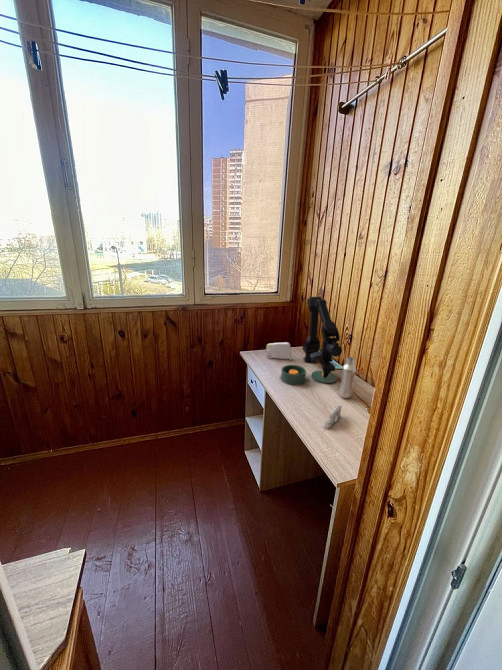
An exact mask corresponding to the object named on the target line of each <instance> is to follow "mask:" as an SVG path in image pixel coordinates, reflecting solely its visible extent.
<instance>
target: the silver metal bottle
mask: <svg viewBox="0 0 502 670" xmlns="http://www.w3.org/2000/svg"><path fill="white" fill-rule="evenodd" d="M355 361H356V359H355V358H354V357H353V356H352V357H351V356H347V357H346V360H345V363H344V364H343V365H342V366H341V382H340V386H339V388H338V394H339V396H340V397H341V398H343V399H350V398H351V397H352V396H353V394H354V389H353V386H354V380H355V377H356V373H357V367H356V365H355Z"/></svg>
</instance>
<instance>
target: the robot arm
mask: <svg viewBox="0 0 502 670" xmlns="http://www.w3.org/2000/svg"><path fill="white" fill-rule="evenodd" d="M306 304H307V308H308V310H309V329H308V336H307V337H306V339H305V343H304V344H303V345H302V351H303V353H305V355H304V357H303V360H304V363H311V364H312V363H314V364H315V363H317V362H318V363H320V364H321V366H320V368H321V371H322V370H323V371H324V378H326V377H327V376H328V375H329V373H330V372H331V373H332V372H336V365H335V364H334V363H333V361H334V359H333V357H335V358H336V357H339V356H341V354H342V352H343V349H342V347H341V346H340V343H339V342H340V340H341V339H340V338H341V337H340V333H339V329H338V327H337V324H336V322H334V321H333V320H332V318H331V314H330V312H329V309H328V306H327V300H326V299H325V298H322V296H309V297H308V298H307V299H306ZM319 318H320V320H321V327H320V331H321V332H320V333H321V338H322V344H321V340H320V339H319V337H318V331H319V330H318V329H319ZM321 345H322V346H321Z"/></svg>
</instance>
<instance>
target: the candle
mask: <svg viewBox="0 0 502 670" xmlns="http://www.w3.org/2000/svg"><path fill="white" fill-rule="evenodd" d="M289 374H291V375H298V371H297V370H289Z"/></svg>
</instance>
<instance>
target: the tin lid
mask: <svg viewBox="0 0 502 670" xmlns="http://www.w3.org/2000/svg"><path fill="white" fill-rule="evenodd" d="M311 378H312V379H313V380H314V381H316V382H319V383H322V384H332V383H335V382H337V380H338V376H337V375H336V374H335V373H333V372H332V371H331V372H330V373H329V375H328V376H327V377H326V378H324V371H323V370H322V369H321V370H315V371H312V373H311Z"/></svg>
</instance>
